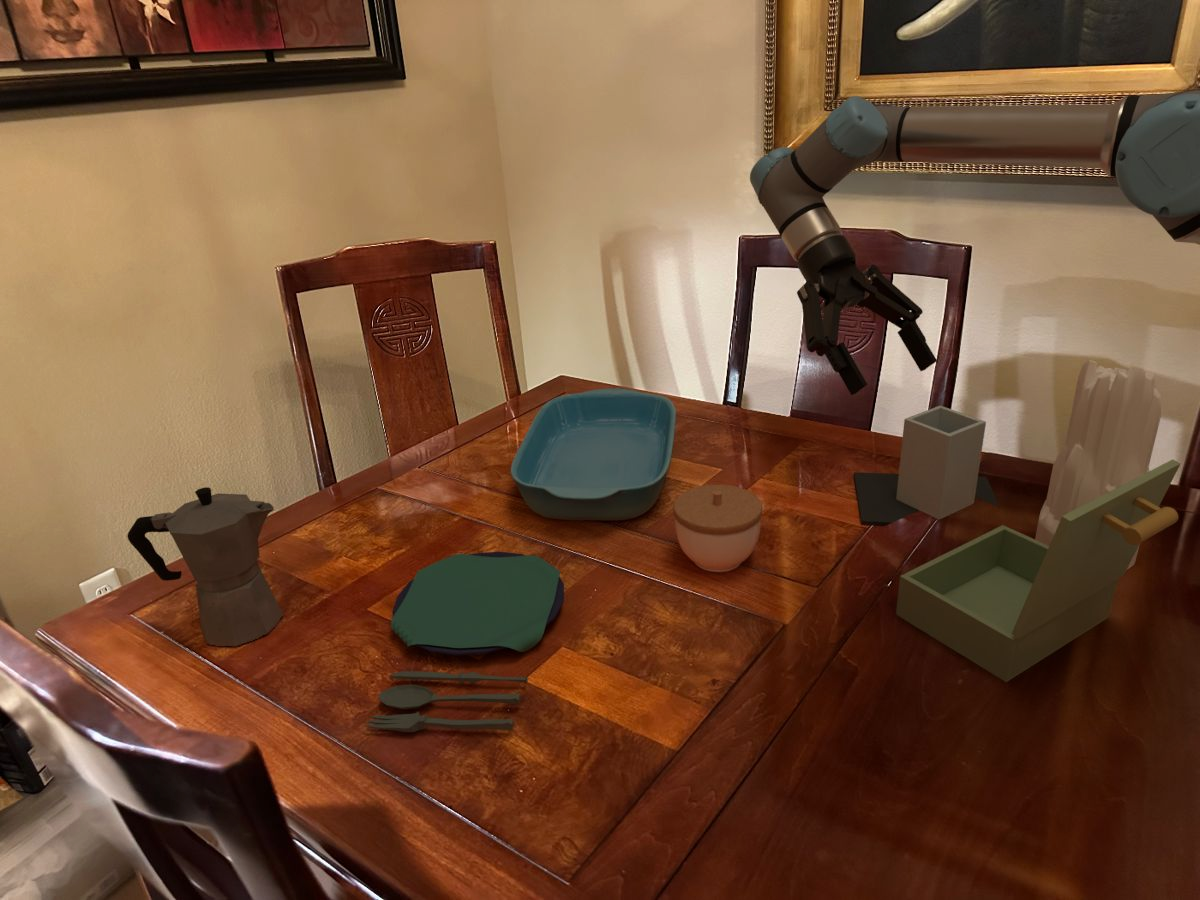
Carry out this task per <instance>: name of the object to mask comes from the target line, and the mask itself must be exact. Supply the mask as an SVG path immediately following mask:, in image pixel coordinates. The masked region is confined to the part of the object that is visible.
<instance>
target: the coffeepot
mask: <svg viewBox="0 0 1200 900" xmlns="http://www.w3.org/2000/svg"><path fill="white" fill-rule="evenodd" d="M194 493H195V495H196V497H197V498H198V499H195V500H191V501H188V502H185V503H184V504H182V505H181V506H179V507H178V508H177V509H176V510H174V511H173V512H170V511H169V512H162V513H155V514H154V515H151V516H150V515H148V516H147V515H146V516H141V517H137V518H136V520H135V522H134V523H133V524H132V526H131V528H130V529H129V530H128V532H127V535H126V536H127V540H128V542H129V543H130V544H131V546H132V547H133V548H134V549H135V550H136V551H137V552H138V554H140V556H141V557H142V558H143V559H144V561H145V562H146V563H147V564H148V565H149V567H150V568H151V569H152V570H153V571H154V573H155V574H156V575H157V576H158V577H159V578H160V580H162V581H164V582H166V581H167V582H169V581H176V580H180V579H181V578H182V574H183V573H182V570H178V571H171V570H169V569H168V567H167V565H166V562H165V560H164V558H163V557H162V556H161V555H160V554H158V552H157V551H156V549H155V547H154V545H153V543H152V542H151V541H150V539H148V538H147V536H146V534H148V533H169V535H171V537H172V539H173V541H174V543H175V545H176V546H177V548H178V550H179V552H180V554H181V557H182V558H183V560H184V562H185V564H186V566H187V568H188V570H189V571H190V573H191V575H192V577H193V579H194V580H195V581H196V584H195V588H196V590H195V591H196V598H197V608H198V616H199V626H200V630H201V633H202V634H203V638H204V640H205V642H206V644H207V645H210V646H213V645H218V646H235V647H239V645H240V646H243V645H242V644H244V643H247V642H250V641H253V640H255V639H257V638H260V637H261V636H263V635H265V636H267V635H268V634H269V633H270V632H272V631H273V630H274V629H275V628H276V627H277V626H276V625H278V624H279V623H280V622H281V621H280V620H281V618H283V616H284V612H283V611H282V608H281V607H280V605H279V603H278V601H277V598H276V597H275V595H274V593H273V591H272V589H271V587H270V585H269V583H268V581H267V579H266V576H265V575H264V573H263V571H262V569H261V567H260V565H259V562H258V560H259V558H260V557H261V556H260V547H259V546H260V545H259V537H260V535H261V533H262V529H263V526H264V524H265V522H266V519H267V518H268V516H269V514H270V513H272V512H273V511H274V510H275V507H274V505H272V503H270V502H265V501H263V500H261V501H259V500H251V499H250V497H249V496H248V494H244V493H243V494H242V493H241V494H240V493H239V494H238V493H214V494H212V489H211V487H207V486H205V487H200V488H198V489H197V490H195V491H194ZM278 622H279V623H278ZM275 626H276V627H275ZM274 627H275V628H274ZM273 628H274V629H273ZM272 629H273V630H272ZM271 630H272V631H271ZM263 637H264V636H263ZM261 638H262V637H261ZM261 638H260V639H261ZM257 640H258V639H257ZM255 641H256V640H255ZM253 642H254V641H253ZM250 643H251V642H250ZM247 644H248V643H247ZM244 645H245V644H244ZM218 646H217V647H218Z"/></svg>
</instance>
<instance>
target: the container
mask: <svg viewBox="0 0 1200 900" xmlns="http://www.w3.org/2000/svg"><path fill="white" fill-rule="evenodd" d="M986 425H987V421H985V420H982V419H979V418H977V417H974V416H971V415H968V414H965V413H962V412H960V411H957V410H954V409H951V408H948V407H946V406H943V405H938V406H935V407H933V408H930V409H926V410H924V411H921V412H919V413H915V414H914V415H911V416H909V417H906V418H904V420H903V430H902V440H901V449H900V459H899V470H898V474H899V477H898V487H897V496H896V499H897V500H899V501H901V502H903V503H905V504H907V505H909V506H911V507H913V508H915V509H917V510H919V512H922V513H924V514H926V515H928V516H931V517H932V518H935V519H937V520H942V519H944V518H946V517H948V516H950V515H952V514H954V513H957V512H959V511H961V510H963V509H966V508H967V507H970V506H972V505H974V504H975V498H976V497H975V492H976V486H977V479H978V477H979V471H980V465H981V458H982V452H983V446H984V439H985V431H986Z"/></svg>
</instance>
